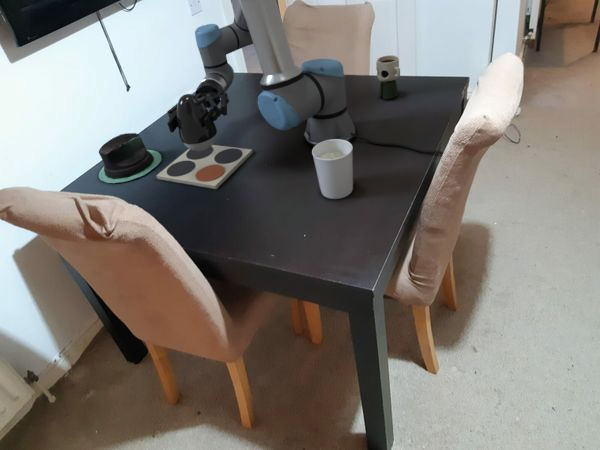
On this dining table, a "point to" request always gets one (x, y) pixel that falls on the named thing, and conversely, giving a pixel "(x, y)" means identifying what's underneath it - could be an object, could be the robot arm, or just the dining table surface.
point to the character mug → (388, 75)
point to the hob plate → (205, 166)
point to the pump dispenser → (194, 123)
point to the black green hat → (126, 158)
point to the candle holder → (334, 167)
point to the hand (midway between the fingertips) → (188, 126)
